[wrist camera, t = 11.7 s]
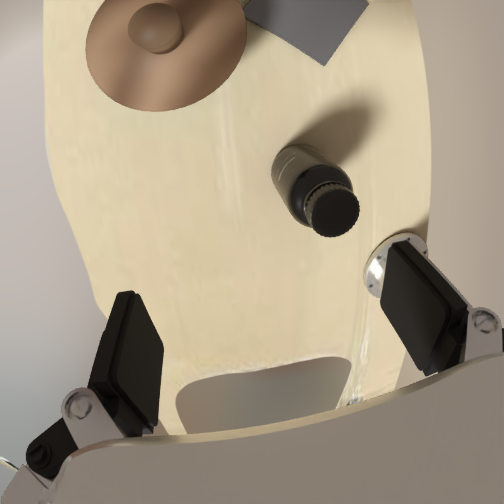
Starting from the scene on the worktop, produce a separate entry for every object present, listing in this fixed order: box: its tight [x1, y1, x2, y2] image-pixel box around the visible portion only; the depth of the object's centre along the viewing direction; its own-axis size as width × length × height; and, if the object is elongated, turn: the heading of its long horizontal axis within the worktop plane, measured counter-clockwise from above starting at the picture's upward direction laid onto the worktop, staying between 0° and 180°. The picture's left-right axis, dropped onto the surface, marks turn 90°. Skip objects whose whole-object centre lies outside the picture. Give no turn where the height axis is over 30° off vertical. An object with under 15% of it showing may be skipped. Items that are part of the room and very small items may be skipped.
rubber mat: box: [243, 0, 369, 66], centre depth 24 cm, size 11×11×1 cm
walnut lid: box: [86, 0, 247, 112], centre depth 17 cm, size 14×14×6 cm
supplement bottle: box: [271, 145, 360, 237], centre depth 30 cm, size 7×7×12 cm
